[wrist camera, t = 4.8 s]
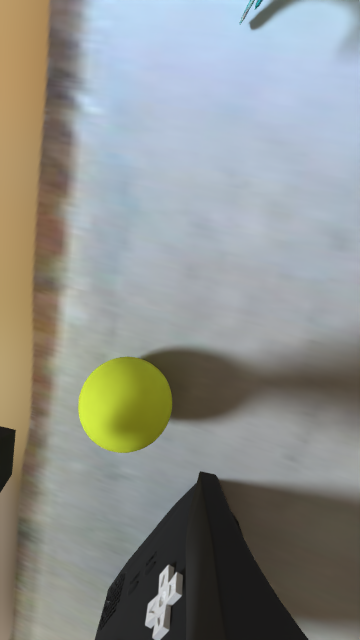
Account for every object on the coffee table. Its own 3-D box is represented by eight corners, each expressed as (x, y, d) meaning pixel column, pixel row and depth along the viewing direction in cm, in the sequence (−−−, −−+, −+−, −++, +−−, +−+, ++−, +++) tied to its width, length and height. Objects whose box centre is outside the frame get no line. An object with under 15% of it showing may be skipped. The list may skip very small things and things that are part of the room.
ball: (91, 409, 20) (56, 462, 15) (102, 337, 18) (67, 369, 14) (167, 426, 20) (156, 484, 15) (182, 354, 18) (177, 393, 14)
